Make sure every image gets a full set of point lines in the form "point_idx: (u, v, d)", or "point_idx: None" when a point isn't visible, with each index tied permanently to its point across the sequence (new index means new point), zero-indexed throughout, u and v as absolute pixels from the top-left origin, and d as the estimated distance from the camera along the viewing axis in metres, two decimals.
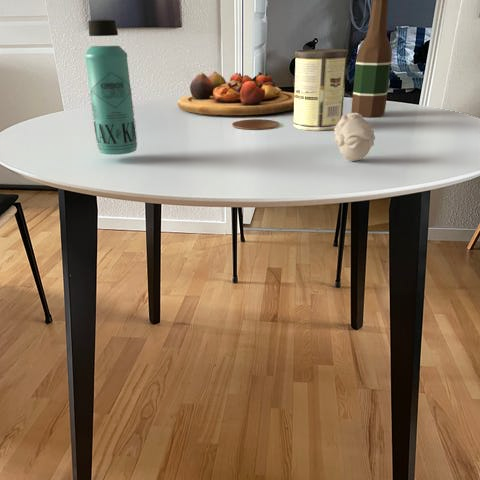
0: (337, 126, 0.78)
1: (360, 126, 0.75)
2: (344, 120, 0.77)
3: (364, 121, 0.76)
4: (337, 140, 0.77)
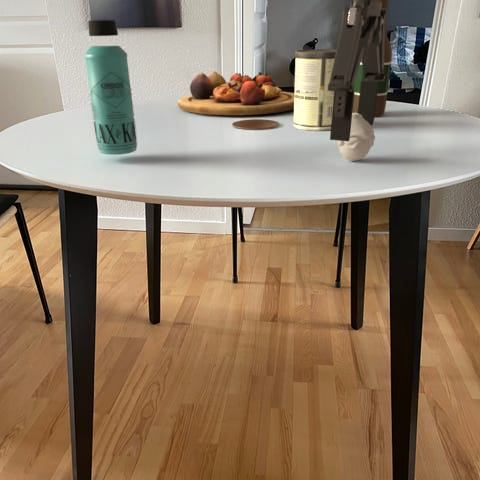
0: None
1: (360, 126, 0.75)
2: None
3: (364, 121, 0.76)
4: (337, 140, 0.77)
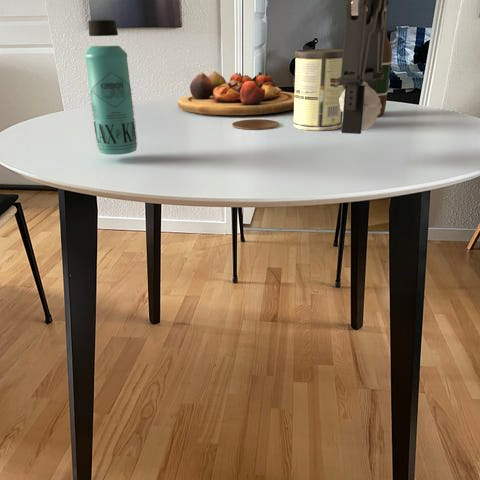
0: (342, 95, 0.76)
1: (366, 94, 0.73)
2: None
3: (370, 89, 0.74)
4: (342, 109, 0.75)
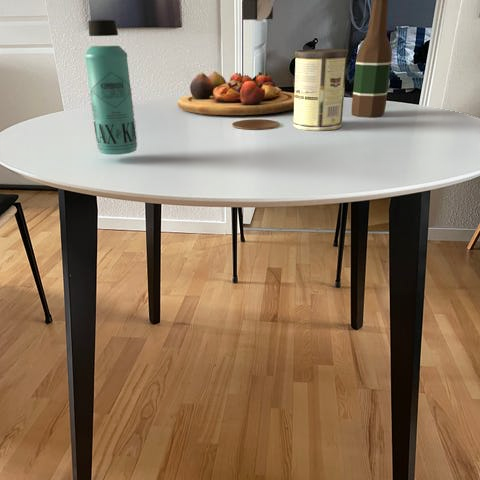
0: None
1: None
2: None
3: None
4: None
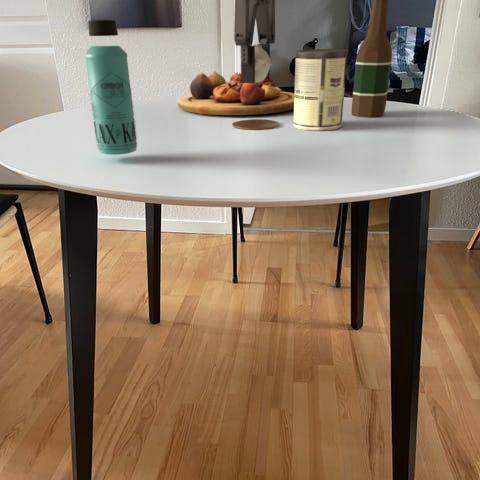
0: None
1: (257, 53, 0.98)
2: None
3: (261, 49, 0.99)
4: None
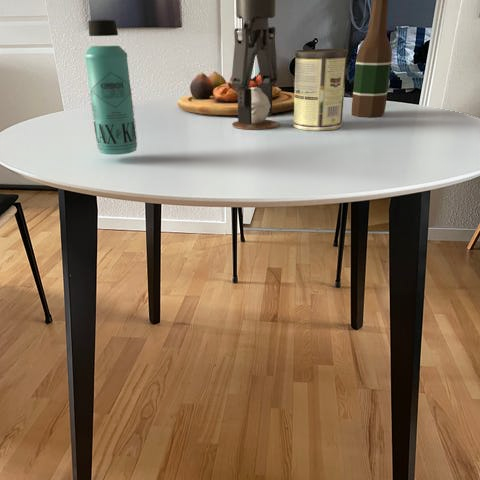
0: None
1: (257, 97, 1.02)
2: None
3: (261, 93, 1.03)
4: None
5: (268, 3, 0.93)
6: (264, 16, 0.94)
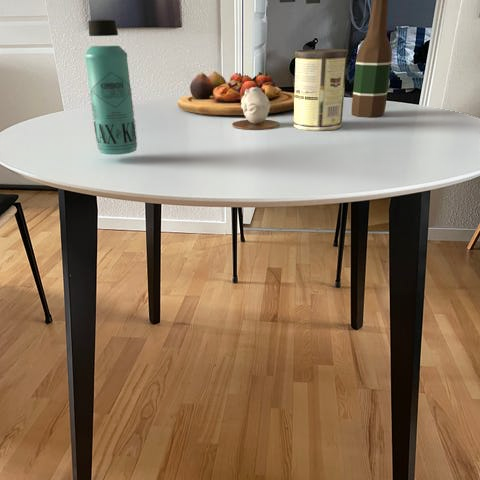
0: (243, 97, 1.05)
1: (257, 97, 1.02)
2: (246, 92, 1.03)
3: (261, 93, 1.03)
4: (242, 107, 1.04)
5: None
6: None
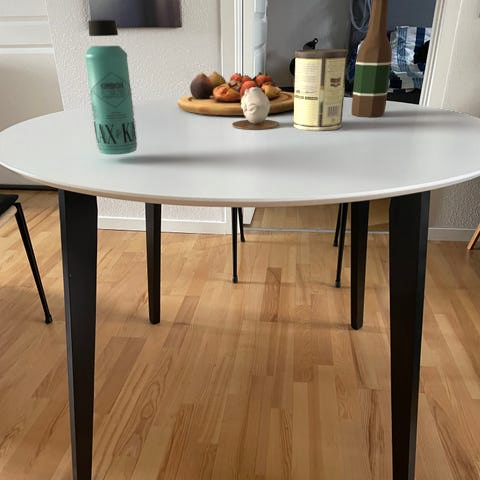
0: (243, 97, 1.05)
1: (257, 97, 1.02)
2: (246, 92, 1.03)
3: (261, 93, 1.03)
4: (242, 107, 1.04)
5: None
6: None
